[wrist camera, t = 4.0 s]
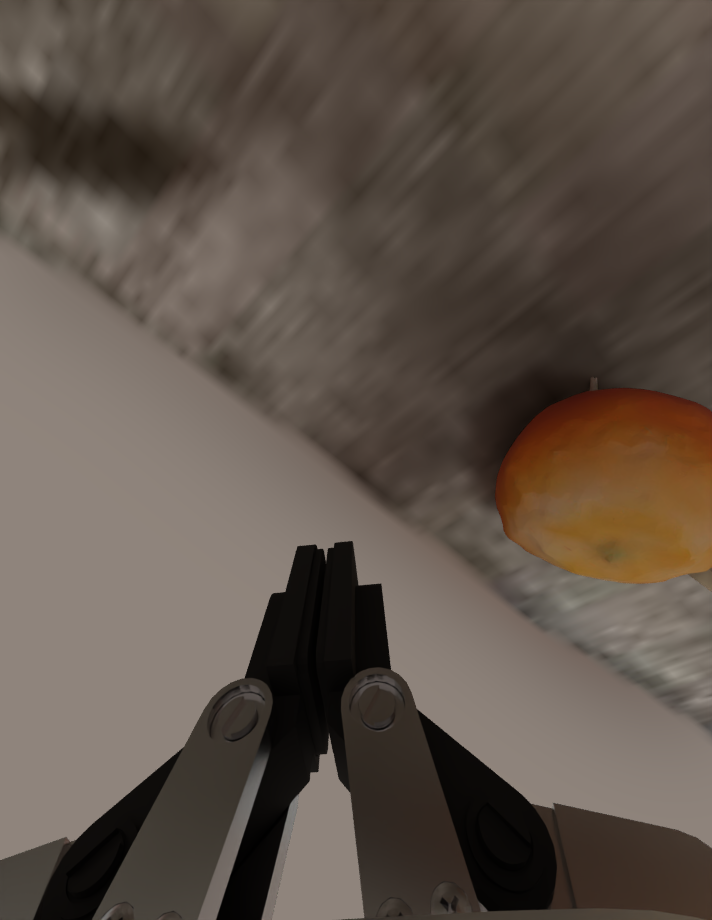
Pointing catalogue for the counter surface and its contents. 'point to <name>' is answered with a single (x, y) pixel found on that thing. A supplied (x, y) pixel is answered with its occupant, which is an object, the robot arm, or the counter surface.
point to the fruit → (613, 486)
